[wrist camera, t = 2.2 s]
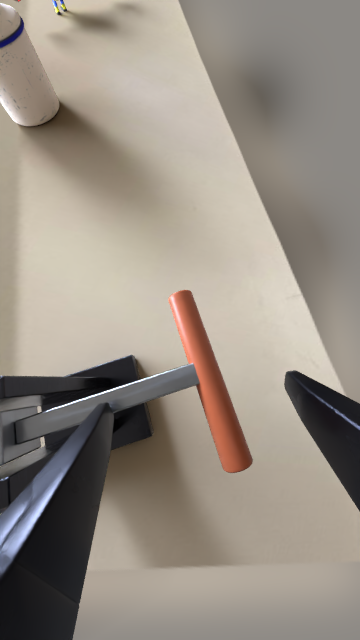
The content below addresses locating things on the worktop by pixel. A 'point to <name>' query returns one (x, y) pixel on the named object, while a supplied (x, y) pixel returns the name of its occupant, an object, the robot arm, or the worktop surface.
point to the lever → (145, 398)
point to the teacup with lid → (23, 74)
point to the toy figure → (56, 6)
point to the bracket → (57, 391)
